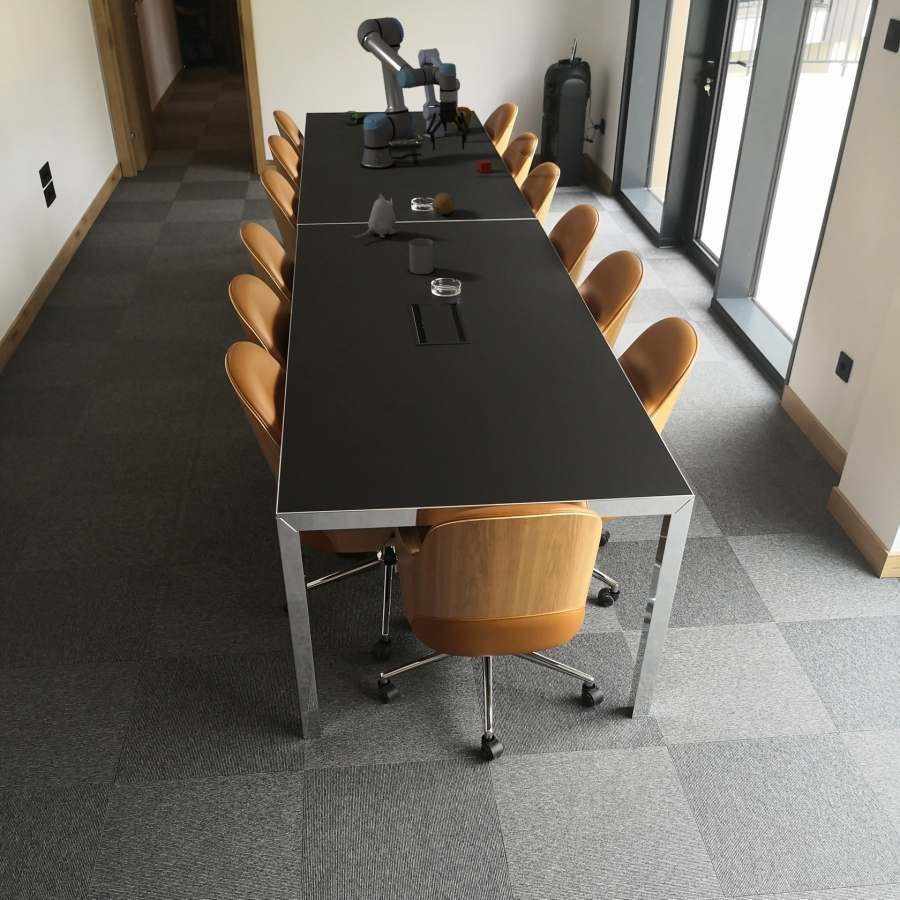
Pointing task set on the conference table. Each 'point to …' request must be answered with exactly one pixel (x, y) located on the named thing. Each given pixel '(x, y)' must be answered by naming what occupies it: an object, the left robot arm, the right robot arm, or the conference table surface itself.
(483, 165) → the brick
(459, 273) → the conference table surface
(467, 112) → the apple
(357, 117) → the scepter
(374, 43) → the left robot arm
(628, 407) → the conference table surface
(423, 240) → the cup
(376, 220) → the toy
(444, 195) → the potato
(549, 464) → the conference table surface
